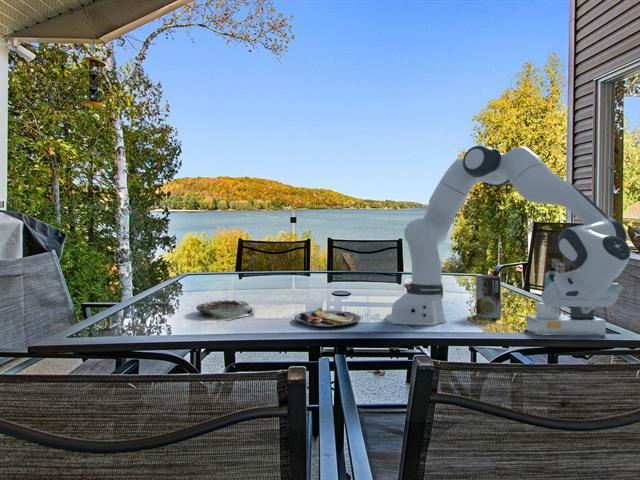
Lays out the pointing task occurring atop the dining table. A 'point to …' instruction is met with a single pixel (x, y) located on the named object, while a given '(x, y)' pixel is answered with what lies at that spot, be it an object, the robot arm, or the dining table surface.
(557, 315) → the panel
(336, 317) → the food plate
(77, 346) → the dining table surface
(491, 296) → the coffee box
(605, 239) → the robot arm
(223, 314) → the grey round shallow dish
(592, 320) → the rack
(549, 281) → the spray can
